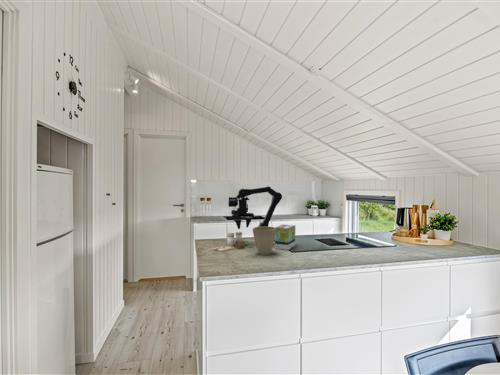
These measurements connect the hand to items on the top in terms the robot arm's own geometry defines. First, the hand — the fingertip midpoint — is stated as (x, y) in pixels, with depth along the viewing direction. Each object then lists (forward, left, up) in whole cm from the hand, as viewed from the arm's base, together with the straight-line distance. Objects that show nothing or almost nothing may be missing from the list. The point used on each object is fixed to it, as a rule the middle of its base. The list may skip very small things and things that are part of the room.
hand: (243, 228), depth 204 cm
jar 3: (+6, -2, -12) cm, 14 cm away
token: (-4, +8, -12) cm, 15 cm away
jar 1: (+8, +4, -12) cm, 15 cm away
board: (+2, +17, -12) cm, 21 cm away
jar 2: (+5, +8, -12) cm, 15 cm away
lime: (-1, -1, -12) cm, 12 cm away
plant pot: (-26, +8, -12) cm, 30 cm away
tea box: (-27, -14, -12) cm, 33 cm away
